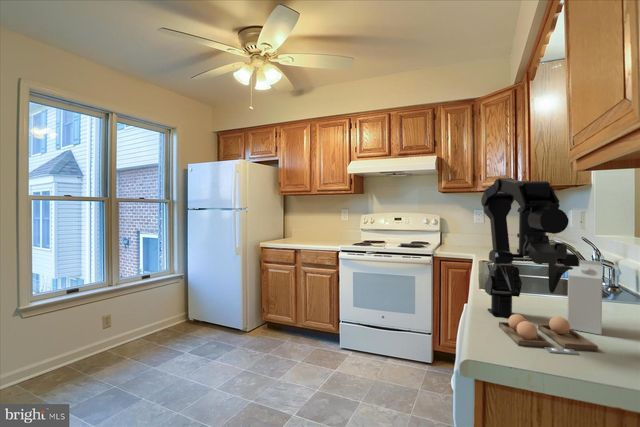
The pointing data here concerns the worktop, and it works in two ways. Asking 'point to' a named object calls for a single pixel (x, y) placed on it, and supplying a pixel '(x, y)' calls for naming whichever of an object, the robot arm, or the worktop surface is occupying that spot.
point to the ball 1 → (515, 321)
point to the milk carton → (585, 297)
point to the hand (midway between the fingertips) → (531, 291)
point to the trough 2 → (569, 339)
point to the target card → (561, 350)
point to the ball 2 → (527, 330)
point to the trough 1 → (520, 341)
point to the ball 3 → (559, 325)
